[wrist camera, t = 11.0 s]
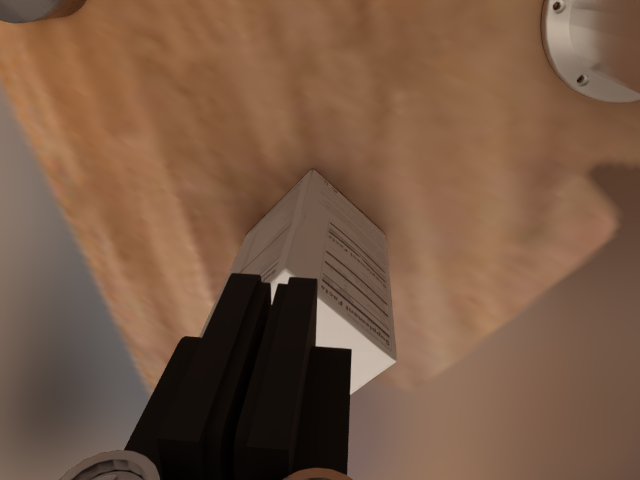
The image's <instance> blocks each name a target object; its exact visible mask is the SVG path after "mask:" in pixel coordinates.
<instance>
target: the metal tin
mask: <svg viewBox="0 0 640 480" xmlns="http://www.w3.org/2000/svg"><path fill="white" fill-rule="evenodd" d="M85 2H86V0H0V20H1V21H5V22H9V23H26V22H33V21H40V20H47V19H54V18H60V17H66V16H69V15H71V14H73V13H75V12H77V11H78V10H79V9H80V8H81V7H82V6H83V5H84V4H85Z"/></svg>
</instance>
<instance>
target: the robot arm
mask: <svg viewBox="0 0 640 480" xmlns="http://www.w3.org/2000/svg"><path fill="white" fill-rule="evenodd" d="M555 2H558V4H559V6H558V8H557V9H556V10H553V4H554V3H555ZM541 32H542V40H543V47H544V50H545V53H546V55H547V58H548V61H549V63H550V65H551V66H552V68H553V69H554V71H555V73H556V74H557V75H558V76H559V77H560V78H561V79H562V80H563V81H564V82H565V83H566V84H567V85H568V86H569V87H571V88H572V89H574V90H575V91H577V92H579V93H581V94H583V95H585V96H587V97H589V98H591V99H595V100H600V101H604V102H612V103H627V102H634V101H640V0H545V1H544V6H543V10H542V23H541ZM580 75H581V76H582V79H581V80H580V81H578V82H577V79H578V77H579V76H580ZM317 292H318V279H316V278H302V277H289V280H288V284H282V283H278V285H277V288H276V292H275V295H274V299H273V302H272V304H271V284H270V283H267V282H262V279H261V276H260V275H258V274H243V273H231V275H230V277H229V279H228V281H227V283H226V285H225V288H224V290H223V292H222V294H221V297H220V299H219V301H218V303H217V305H216V308H215V310H214V312H213V314H212V316H211V319H210V321H209V323H208V325H207V327H206V330H205V332H204V334H203V336H202V337H189V336H185V337H183V338H182V339H181V340H180V342H179V343H178V345H177V347H176V349H175V351H174V353H173V355H172V357H171V359H170V361H169V362H168V364H167V366H166V368H165V370H164V372H163V374H162V376H161V378H160V380H159V382H158V384H157V386H156V388H155V390H154V392H153V394H152V396H151V398H150V400H149V402H148V404H147V406H146V408H145V410H144V412H143V414H142V416H141V417H140V420H139V422H138V423H137V425H136V427H135V430H134V431H133V433H132V435H131V437H130V440H129V441H128V443H127V445H126V447H125V449H124V450H115V451H109V452H103V453H99V454H97V455H95V456H92V457H90V458H87V459H85V460H83V461H81V462H80V463H79V464H77V465H76V466H74V467H72V468H71V469H69V470H68V471H67V472H66V473H65V474H64V475H63V476H62V477H61V478H60V479H59V480H352V479H351V478H350V477H348V476H347V462H348V461H347V460H348V436H349V409H350V384H351V358H352V349H347V348H333V347H320V346H316V324H317Z"/></svg>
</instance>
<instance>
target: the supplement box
mask: <svg viewBox="0 0 640 480" xmlns="http://www.w3.org/2000/svg"><path fill="white" fill-rule="evenodd" d="M231 273H243V274H258V275H260V276H261V279H262V282H267V283H270V284H271V304H272V302H273V299H274V295H275V292H276V288H277V285H278V283H282V284H288V280H289V277H302V278H316V279H318V292H317V324H316V346H320V347H333V348H347V349H352V358H351V384H350V395H351V394H352V393H353V392H355V391H356V390H357V389H359V388H360V387H362V386H363V385H364V384H366V383H367V382H368V381H370V380H371V379H373V378H374V377H375V376H377V375H378V374H380V373H381V372H382V371H384V370H385V369H387V368H388V367H389V366H391V365H392V364H394V363H395V362H397V354H396V343H395V333H394V321H393V310H392V299H391V287H390V277H389V265H388V255H387V243H386V235H385V234H384V233H383V232H382V231H381V230H380V229H379V228H378V227H377V226H376V225H374V224H373V223H372V222H371V221H370V220H369V219H368V218H367V217H366V216H365V215H364V214H363V213H361V212H360V211H359V210H358V209H357V208H356V207H355V206H354V205H353V204H352V203H350V202H349V201H348V200H347V199H346V198H345V197H344V196H343V195H342V194H341V193H340V192H339V191H337V190H336V189H335V188H334V187H333V186H332V185H331V184H330V183H329V182H328V181H326V180H325V179H324V178H323V177H322V176H321V175H320V174H319V173H318V172H317V171H316V170H314V169H312V170H310V171H309V172H308V173H307V174H306V175H305V176H304V177H303V178H302V179H301V180H300V181H299V182H298V183H297V184H296V185H295V186H294V187H293V188H292V189H291V190H290V191H289V192H288V193H287V194H286V195H285V196H284V197H283V198H282V199H281V200H280V201H279V202H278V203H277V204H276V205H275V206H274V207H273V208H272V209H271V210H270V211H269V212H268V213H267V214H266V215H265V216H264V217H263V218H262V219H261V220H260V221H259V222H258V223H257V224H256V225H255V226H254V227H253V228H252V229H251V230H250V231H249V233H248V234H247V235H246V237H245V239H244V241H243V243H242V245H241V247H240V249H239V252H238V254H237V256H236V258H235V260H234V262H233V265H232V267H231V269H230V271H229V273H228V276H227V278H226V280H225V282H224V284H223V287H222V289H221V291H220V293H219V295H218V297H217V300H216V302H215V304H214V306H213V308H212V310H211V312H210V314H209V316H208V318H207V321H206V323H205V325H204V327H203V329H202V332H201V334H200V336H199V337H202V336H203V334H204V332H205V330H206V327H207V325H208V323H209V321H210V319H211V316H212V314H213V312H214V310H215V308H216V305H217V303H218V301H219V299H220V297H221V294H222V292H223V290H224V288H225V285H226V283H227V281H228V279H229V277H230V275H231Z"/></svg>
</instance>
